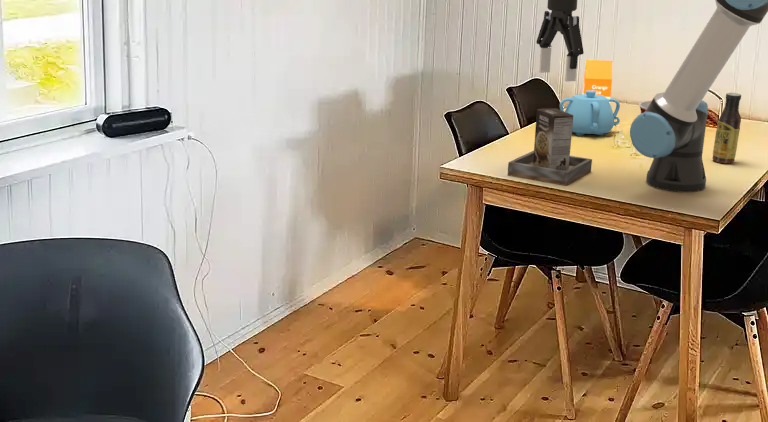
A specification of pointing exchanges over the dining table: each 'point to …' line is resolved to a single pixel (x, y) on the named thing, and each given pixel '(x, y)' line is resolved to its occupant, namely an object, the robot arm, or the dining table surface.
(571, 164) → the tray
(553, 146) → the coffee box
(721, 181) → the dining table surface
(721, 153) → the sauce bottle
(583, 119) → the decorative pot
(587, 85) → the orange juice
